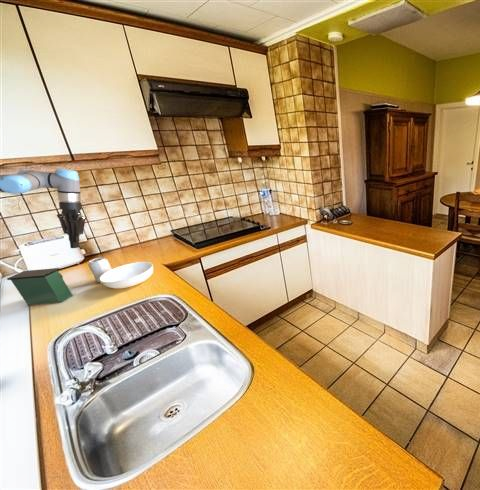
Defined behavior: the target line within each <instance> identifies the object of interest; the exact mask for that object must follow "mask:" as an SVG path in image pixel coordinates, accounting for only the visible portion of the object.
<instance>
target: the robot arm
mask: <svg viewBox="0 0 480 490" xmlns="http://www.w3.org/2000/svg"><path fill="white" fill-rule="evenodd" d="M38 189H39V190H40V189H56V190H57V200H58V209H59V210H61V212H60V213H58V214H56V217H57V218H58V221H59V223H60V226H61V229H62V232H63V234H66V235H67V236H68V241H69V246H70V249H78V248H80V236H81V235H83V234H84V230H85V224H86V220H87V216H83V215H82V213H81V211H82V209H83V207H82V197H81V196H82V195H81V184H80V177H79V172H78V171H76V170H72V169H63V168H62V169H61V168H57V169H55V170H54V172H49V171H40V170H32V169H29V170H28V169H21V170H19V171H18V172H17V173H15V174H0V194H1V193H8V194H11V195H12V194H13V195H16V194H17V195H18V194H25V193H28V192H31V191H35V190H38Z"/></svg>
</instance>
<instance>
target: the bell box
mask: <svg viewBox="0 0 480 490" xmlns="http://www.w3.org/2000/svg"><path fill="white" fill-rule="evenodd" d="M60 270H61V269H60V267H54V268H53V267H52V268H44V269H43V268H41V269H31V270H30V269H29V270H23V271H21V272H18V273H16V274H14V275H12V276H9V277H7V278H6V280H7V281H11V283H12V284H13V286H14V287H15V289H16V290H17V292H18V294H19V295H20V296H21V297H22V299H23V300H24V301H25V303H26V305H27V306H28V307H29V306H38V305H39V306H40V305H49V304H58V303H59V304H60V303H62V302H65V301H66V300H68V299H69V298H71V297H72V296H73V293H72V292H71V289H70V288H69V287H68V285H67V283H66V282H65V280H64V277H63V278H62V277H61V275H62V274H61V272H59V271H60ZM60 274H61V275H60Z"/></svg>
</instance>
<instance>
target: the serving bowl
mask: <svg viewBox="0 0 480 490" xmlns="http://www.w3.org/2000/svg"><path fill="white" fill-rule="evenodd" d="M153 273H154V264H153V263H152V262H149V261H137V262H131V263H126V264H124V265H120V266H117V267H114V268H112V270H110V271H108V272H106V273H104V274H103V275H102V276H101V277H100V281H101V282H100V283H101V284H102V285H103V286H105V287H107V288H110V289H126V288H130V287H134V286H136V285H139V284H141V283H144V282H145V281H146V280H148V279H149V278H150V277H151V276H152V275H153Z"/></svg>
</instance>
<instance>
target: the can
mask: <svg viewBox="0 0 480 490" xmlns="http://www.w3.org/2000/svg"><path fill="white" fill-rule="evenodd" d="M87 266H88V268H89V270H90V272H91V274H92V275H93V277H94V279H95V282H98V283H101V281H100V277H101V276H102V275H103V274H104V273H106V272H108V271H110V270H112V269H113V267H112V266H111V263H110V262H109V260H108V259H107V258H105V257H103V256H100V257H95V258H92V259H90V260H89V261H88V265H87Z"/></svg>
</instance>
